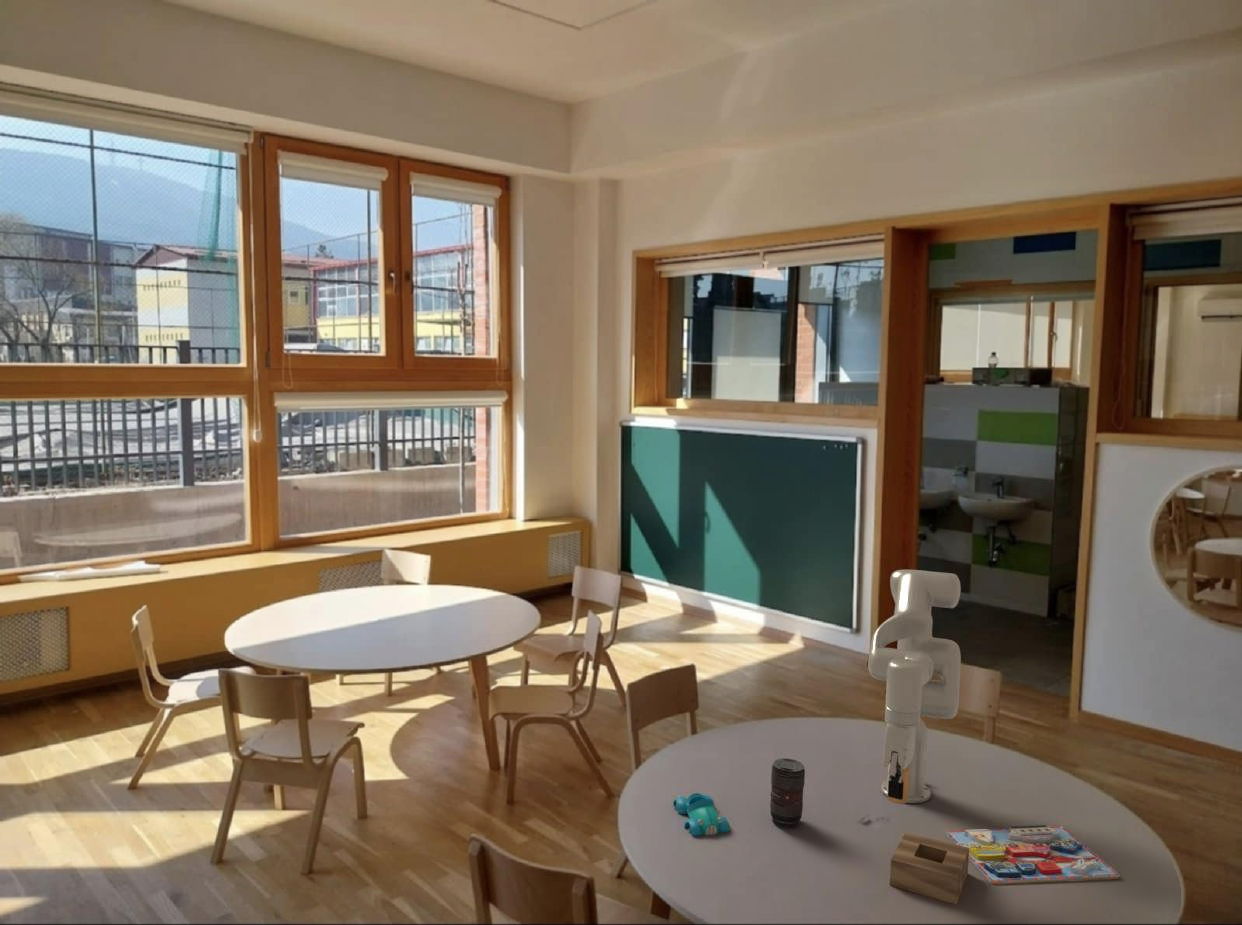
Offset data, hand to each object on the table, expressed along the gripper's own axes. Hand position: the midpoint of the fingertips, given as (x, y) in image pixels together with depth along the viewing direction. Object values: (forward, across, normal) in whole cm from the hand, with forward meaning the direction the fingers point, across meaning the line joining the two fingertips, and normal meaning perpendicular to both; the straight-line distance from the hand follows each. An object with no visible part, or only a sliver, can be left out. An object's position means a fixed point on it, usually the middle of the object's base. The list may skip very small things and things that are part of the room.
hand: (898, 792), depth 209 cm
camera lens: (+18, -6, -28) cm, 34 cm away
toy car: (+18, +4, -47) cm, 51 cm away
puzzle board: (+18, -23, +25) cm, 39 cm away
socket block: (+18, +1, +8) cm, 19 cm away
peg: (+2, 0, 0) cm, 2 cm away
